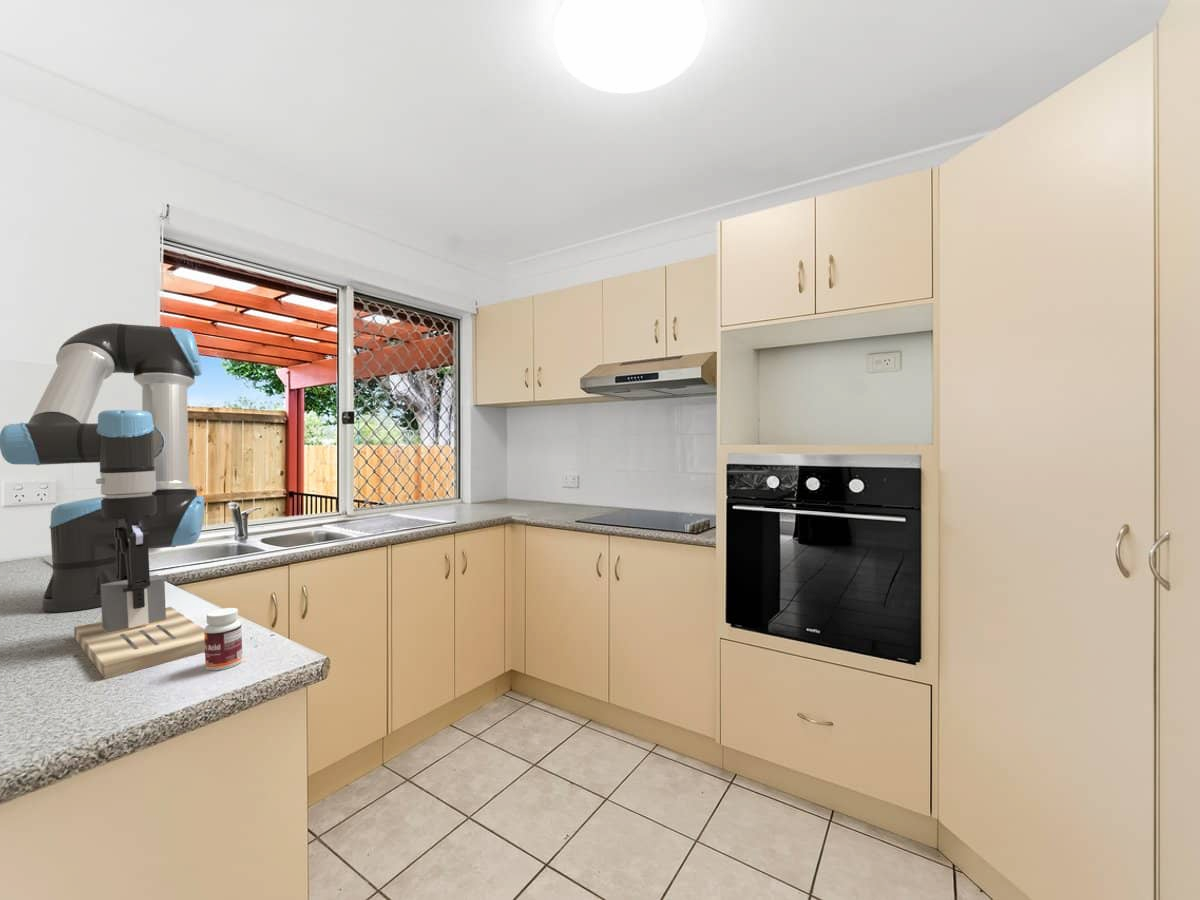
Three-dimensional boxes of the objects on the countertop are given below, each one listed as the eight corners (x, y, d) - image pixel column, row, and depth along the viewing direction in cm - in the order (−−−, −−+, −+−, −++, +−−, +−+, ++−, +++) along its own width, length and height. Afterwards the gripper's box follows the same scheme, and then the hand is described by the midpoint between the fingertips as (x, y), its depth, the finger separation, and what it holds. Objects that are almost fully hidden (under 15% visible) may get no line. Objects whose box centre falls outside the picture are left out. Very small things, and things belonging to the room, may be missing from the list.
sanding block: (108, 634, 92) (106, 588, 92) (102, 628, 96) (100, 584, 95) (166, 621, 99) (164, 578, 98) (159, 616, 102) (157, 574, 102)
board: (74, 638, 97) (74, 626, 97) (171, 616, 108) (170, 606, 108) (104, 679, 79) (104, 665, 79) (216, 648, 90) (215, 636, 90)
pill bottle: (198, 669, 82) (195, 615, 82) (229, 656, 87) (226, 605, 86) (219, 673, 80) (217, 618, 80) (249, 660, 85) (247, 608, 85)
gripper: (91, 494, 99) (97, 618, 100) (111, 500, 88) (117, 639, 89) (143, 491, 105) (148, 607, 106) (168, 495, 94) (174, 626, 94)
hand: (134, 621), depth 97 cm, fingers closed on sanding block, 5 cm apart
